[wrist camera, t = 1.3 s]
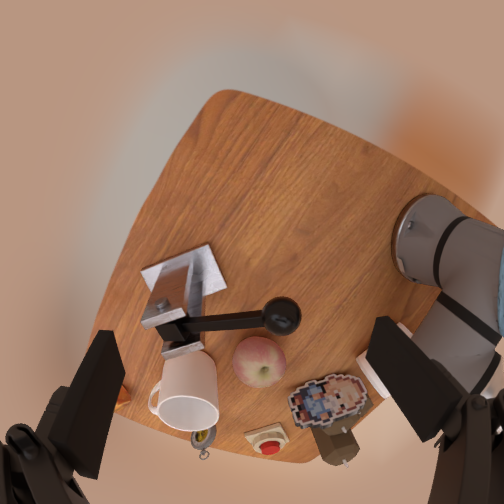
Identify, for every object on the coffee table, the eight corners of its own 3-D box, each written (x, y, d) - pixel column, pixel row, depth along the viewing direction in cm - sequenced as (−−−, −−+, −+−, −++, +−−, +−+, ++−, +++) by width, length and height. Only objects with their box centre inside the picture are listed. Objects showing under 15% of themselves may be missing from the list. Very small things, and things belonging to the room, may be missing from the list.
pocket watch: (172, 398, 45) (169, 440, 35) (217, 403, 46) (221, 446, 37) (170, 421, 47) (167, 461, 38) (211, 427, 49) (213, 466, 39)
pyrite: (104, 380, 43) (114, 370, 43) (122, 409, 41) (133, 400, 41) (85, 384, 39) (95, 373, 38) (104, 416, 37) (115, 406, 36)
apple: (288, 341, 43) (302, 374, 36) (255, 369, 45) (263, 404, 37) (253, 316, 41) (262, 349, 33) (219, 347, 42) (222, 382, 35)
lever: (298, 285, 22) (292, 310, 19) (307, 316, 23) (302, 342, 21) (164, 304, 28) (148, 323, 25) (178, 328, 29) (164, 347, 26)
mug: (138, 361, 41) (125, 408, 31) (200, 338, 41) (199, 388, 31) (165, 393, 44) (160, 439, 34) (225, 374, 44) (229, 422, 34)
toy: (284, 392, 47) (299, 436, 39) (284, 388, 47) (299, 433, 38) (352, 371, 48) (373, 410, 40) (353, 366, 48) (375, 406, 39)
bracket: (208, 241, 36) (207, 288, 23) (227, 284, 39) (235, 345, 26) (142, 268, 36) (111, 323, 23) (163, 307, 39) (146, 372, 26)
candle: (336, 426, 54) (358, 474, 40) (289, 422, 51) (307, 478, 37) (372, 387, 51) (403, 436, 37) (326, 380, 48) (355, 439, 34)
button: (275, 438, 49) (277, 444, 47) (280, 445, 50) (282, 451, 49) (257, 443, 49) (258, 449, 47) (263, 450, 50) (264, 456, 49)
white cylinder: (383, 400, 36) (432, 359, 35) (351, 355, 43) (398, 316, 41) (387, 397, 46) (427, 365, 44) (362, 361, 52) (399, 330, 51)
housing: (279, 422, 51) (282, 432, 48) (288, 437, 54) (291, 447, 51) (244, 432, 51) (245, 443, 48) (256, 447, 53) (258, 457, 51)
